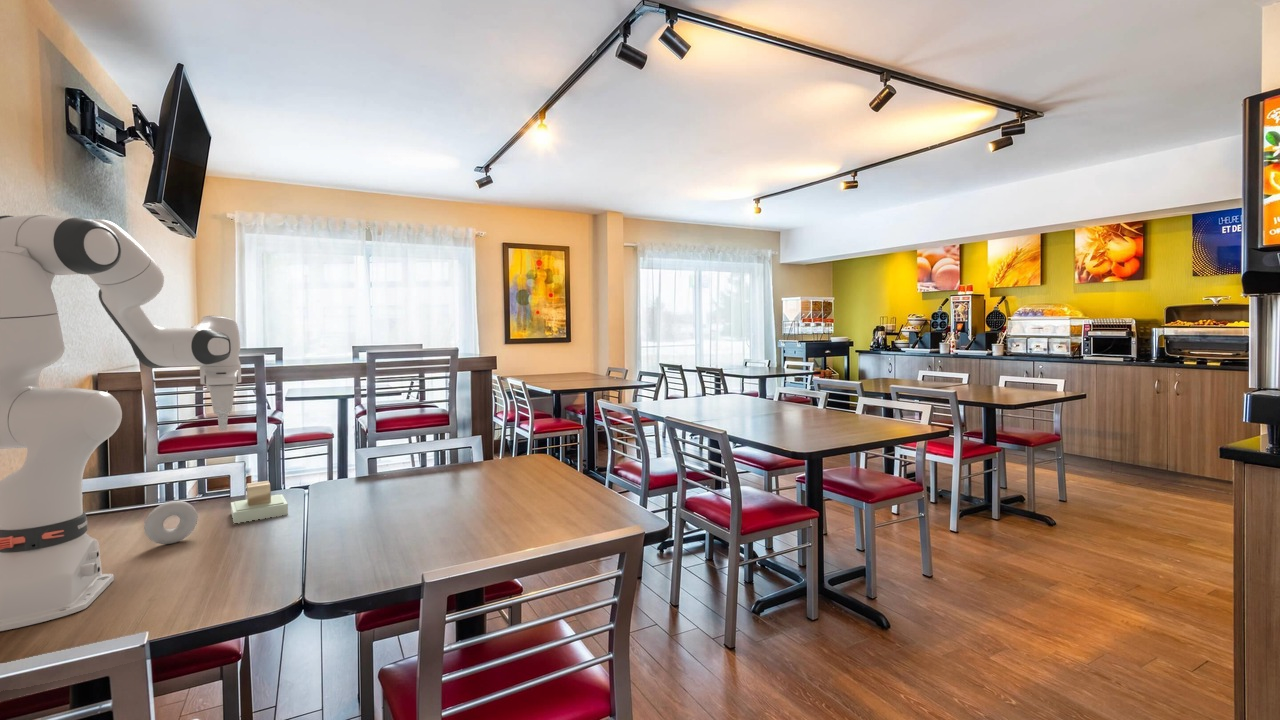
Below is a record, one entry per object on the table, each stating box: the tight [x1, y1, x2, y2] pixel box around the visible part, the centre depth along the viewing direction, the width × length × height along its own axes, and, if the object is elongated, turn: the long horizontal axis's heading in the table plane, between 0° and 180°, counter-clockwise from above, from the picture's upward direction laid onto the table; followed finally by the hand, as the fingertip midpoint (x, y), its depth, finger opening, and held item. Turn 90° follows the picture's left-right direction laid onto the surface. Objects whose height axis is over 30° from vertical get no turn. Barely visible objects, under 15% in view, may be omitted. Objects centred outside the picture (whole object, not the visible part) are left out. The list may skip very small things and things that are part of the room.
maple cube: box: [246, 480, 272, 506], centre depth 153 cm, size 5×5×5 cm
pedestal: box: [230, 493, 289, 524], centre depth 153 cm, size 12×12×3 cm
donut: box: [143, 500, 199, 545], centre depth 132 cm, size 10×4×10 cm, turn 147°
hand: (222, 428), depth 150 cm, fingers open, 8 cm apart
